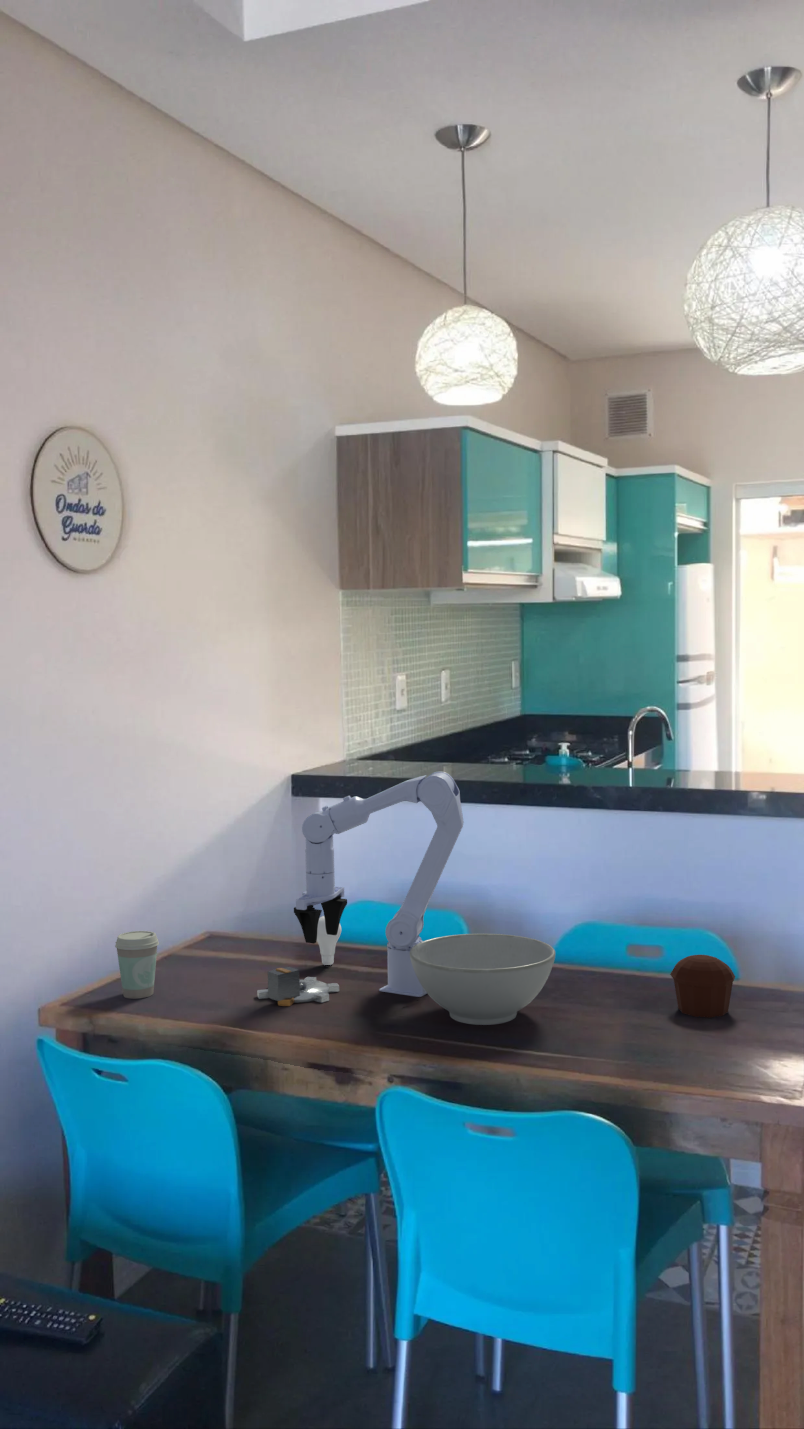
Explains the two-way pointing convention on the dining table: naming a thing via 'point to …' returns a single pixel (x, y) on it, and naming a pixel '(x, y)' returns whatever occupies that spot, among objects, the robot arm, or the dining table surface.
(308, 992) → the sprocket
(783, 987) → the dining table surface
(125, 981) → the coffee cup
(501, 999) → the decorative bowl
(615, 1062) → the dining table surface
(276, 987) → the banded cube
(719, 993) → the muffin
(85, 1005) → the dining table surface
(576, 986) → the dining table surface
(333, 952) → the lightbulb
